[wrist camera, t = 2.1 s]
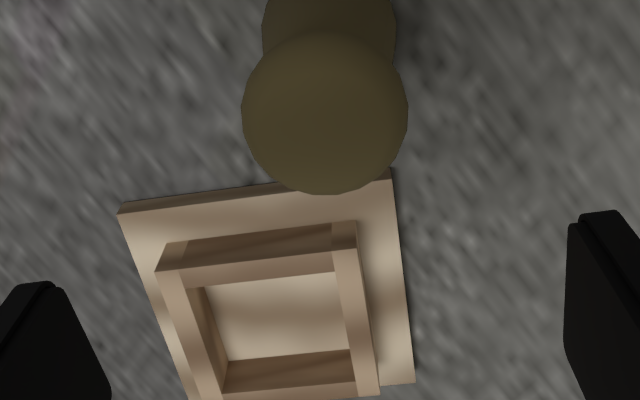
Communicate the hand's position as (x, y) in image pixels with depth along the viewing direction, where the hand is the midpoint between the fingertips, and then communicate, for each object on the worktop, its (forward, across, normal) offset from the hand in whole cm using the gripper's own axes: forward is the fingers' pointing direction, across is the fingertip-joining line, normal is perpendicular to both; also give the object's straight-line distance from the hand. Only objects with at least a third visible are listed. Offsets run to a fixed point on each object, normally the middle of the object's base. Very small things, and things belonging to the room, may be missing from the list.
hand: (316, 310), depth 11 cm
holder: (+18, +5, +14) cm, 23 cm away
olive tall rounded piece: (+18, 0, 0) cm, 19 cm away
